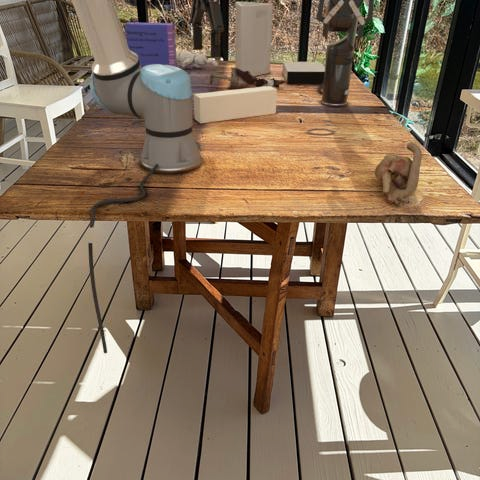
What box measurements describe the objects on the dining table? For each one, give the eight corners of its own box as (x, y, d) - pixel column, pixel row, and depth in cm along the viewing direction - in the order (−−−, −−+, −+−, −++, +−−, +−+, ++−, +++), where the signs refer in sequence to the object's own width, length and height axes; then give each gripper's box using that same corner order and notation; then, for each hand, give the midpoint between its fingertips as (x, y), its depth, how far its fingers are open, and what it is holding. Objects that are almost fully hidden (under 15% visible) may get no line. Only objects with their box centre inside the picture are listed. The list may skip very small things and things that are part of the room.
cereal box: (177, 88, 189) (174, 22, 177) (175, 91, 185) (172, 24, 173) (134, 87, 190) (128, 21, 178) (131, 90, 186) (124, 23, 174)
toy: (173, 75, 210) (172, 58, 207) (149, 64, 228) (148, 49, 224) (220, 69, 222) (220, 53, 218) (194, 59, 239) (193, 45, 236)
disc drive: (287, 84, 198) (287, 71, 196) (281, 72, 218) (282, 61, 215) (329, 84, 199) (330, 72, 196) (320, 72, 218) (321, 61, 216)
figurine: (210, 87, 179) (288, 95, 182) (212, 65, 176) (291, 73, 180) (208, 84, 201) (278, 91, 205) (210, 64, 198) (280, 71, 202)
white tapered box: (273, 76, 210) (276, 6, 196) (239, 77, 209) (240, 6, 194) (266, 67, 226) (268, 2, 212) (235, 67, 225) (235, 1, 210)
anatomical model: (387, 195, 117) (397, 211, 103) (362, 171, 116) (368, 184, 102) (428, 158, 112) (444, 169, 98) (402, 132, 112) (415, 140, 97)
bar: (200, 123, 152) (199, 97, 148) (194, 119, 156) (193, 94, 152) (275, 113, 163) (277, 89, 158) (268, 109, 166) (269, 85, 162)
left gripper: (236, -26, 126) (235, 59, 137) (200, -29, 145) (202, 46, 156) (210, -25, 123) (211, 61, 134) (177, -29, 142) (180, 47, 153)
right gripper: (378, -30, 121) (368, 38, 130) (322, -32, 124) (316, 36, 132) (380, -29, 115) (369, 42, 124) (320, -31, 117) (314, 40, 126)
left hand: (206, 53), depth 145 cm, fingers open, 13 cm apart
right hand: (341, 39), depth 128 cm, fingers open, 8 cm apart
